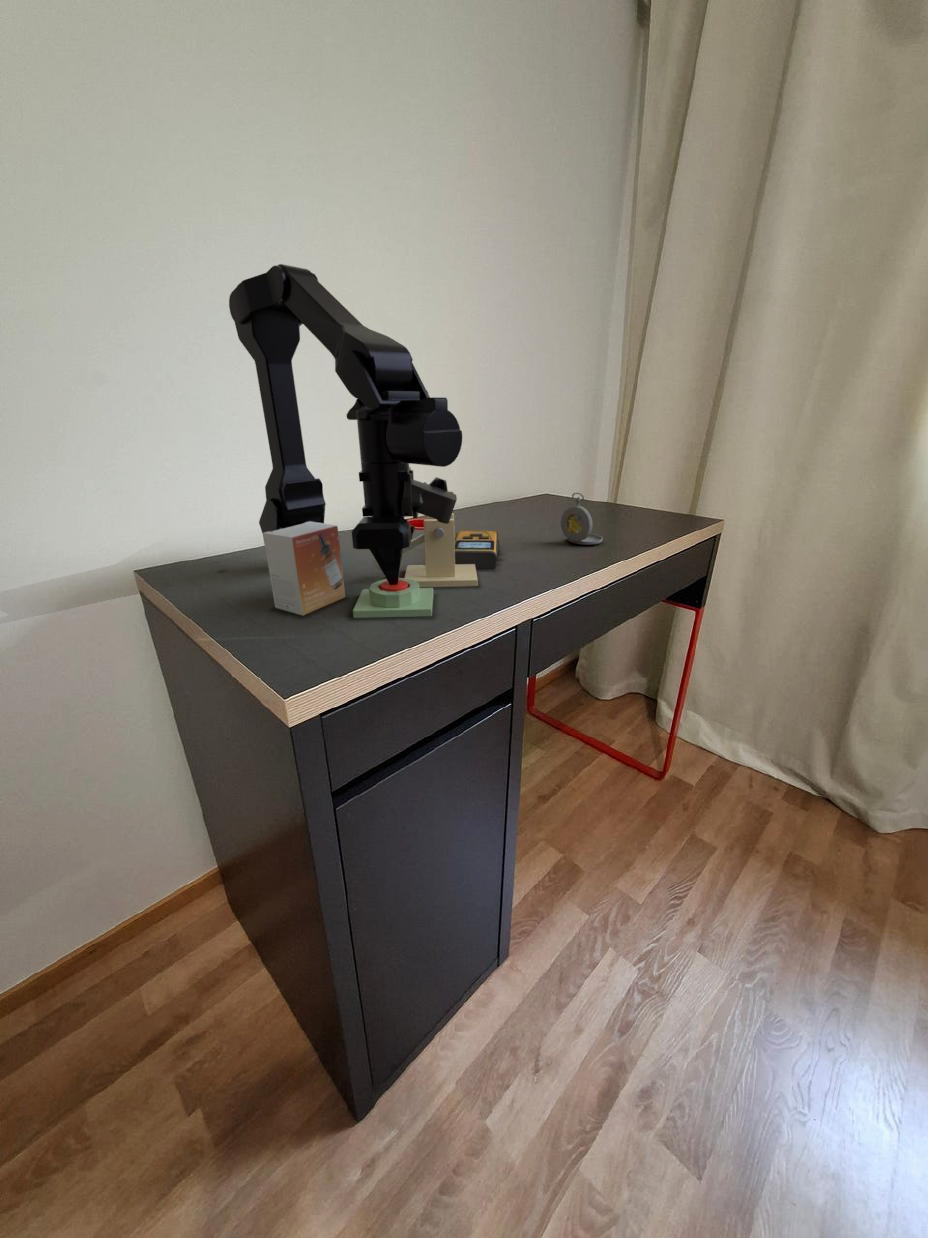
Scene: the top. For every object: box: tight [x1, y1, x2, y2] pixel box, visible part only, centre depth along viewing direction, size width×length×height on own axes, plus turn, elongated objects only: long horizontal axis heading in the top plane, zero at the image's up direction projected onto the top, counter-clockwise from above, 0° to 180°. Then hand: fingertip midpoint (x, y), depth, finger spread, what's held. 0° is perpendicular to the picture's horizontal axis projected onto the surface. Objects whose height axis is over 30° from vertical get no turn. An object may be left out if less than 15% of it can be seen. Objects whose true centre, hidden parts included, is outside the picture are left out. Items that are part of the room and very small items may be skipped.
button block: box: [352, 577, 434, 619], centre depth 65 cm, size 10×8×3 cm
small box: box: [262, 521, 346, 616], centre depth 65 cm, size 8×6×10 cm
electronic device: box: [454, 530, 500, 570], centre depth 87 cm, size 8×16×3 cm, turn 176°
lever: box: [373, 533, 425, 571], centre depth 74 cm, size 13×3×3 cm, turn 93°
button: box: [381, 580, 408, 592], centre depth 65 cm, size 4×4×2 cm
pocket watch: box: [560, 492, 604, 546], centre depth 93 cm, size 8×8×10 cm
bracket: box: [403, 512, 479, 588], centre depth 74 cm, size 11×8×10 cm
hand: (394, 583), depth 65 cm, fingers closed, pressing on button
